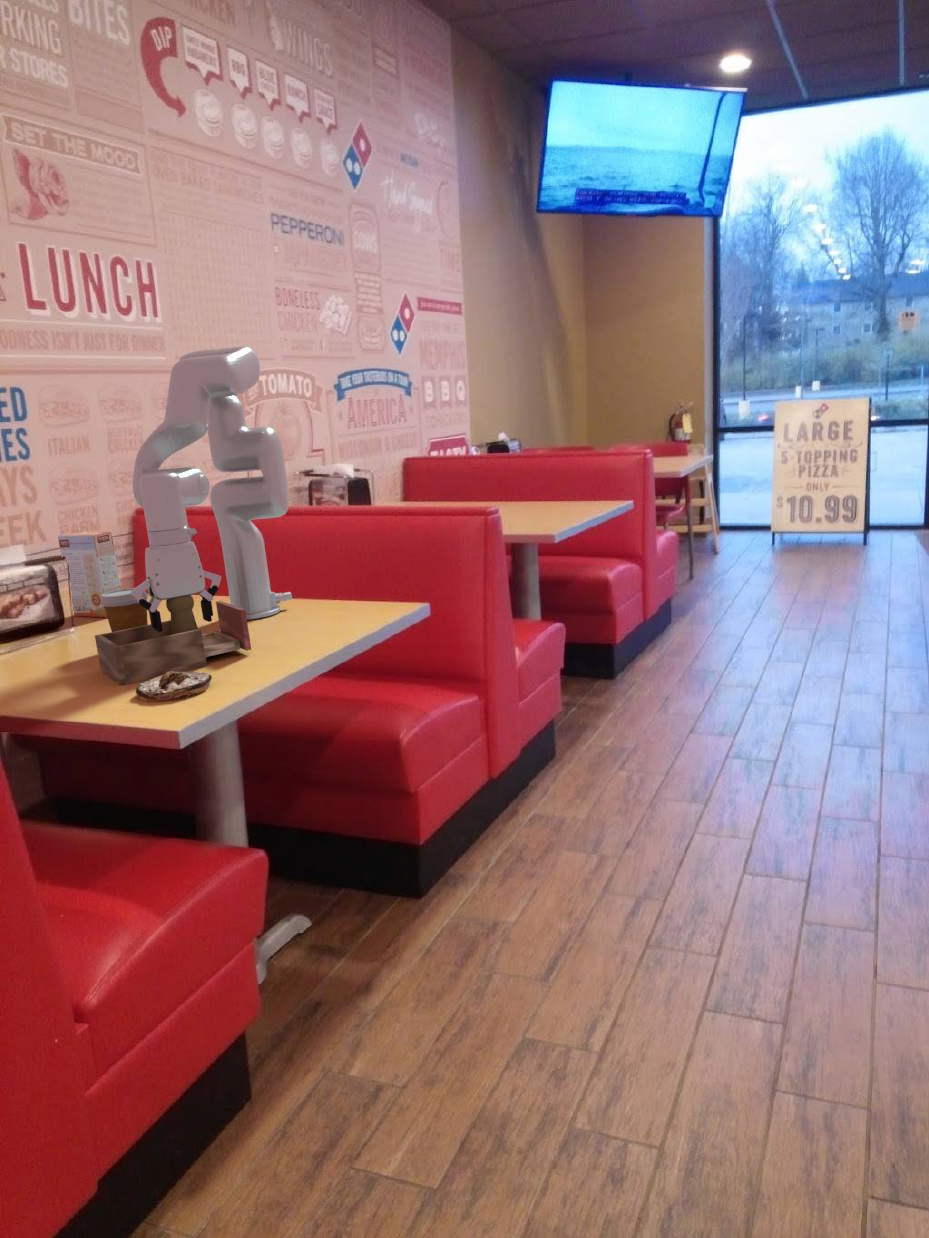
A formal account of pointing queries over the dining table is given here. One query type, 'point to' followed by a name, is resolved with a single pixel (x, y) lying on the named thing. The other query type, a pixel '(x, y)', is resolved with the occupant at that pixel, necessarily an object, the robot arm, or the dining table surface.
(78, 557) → the cracker box
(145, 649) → the caddy
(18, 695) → the dining table surface
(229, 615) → the drawer
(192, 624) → the olive green pawn
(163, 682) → the pie
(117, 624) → the disposable coffee cup
